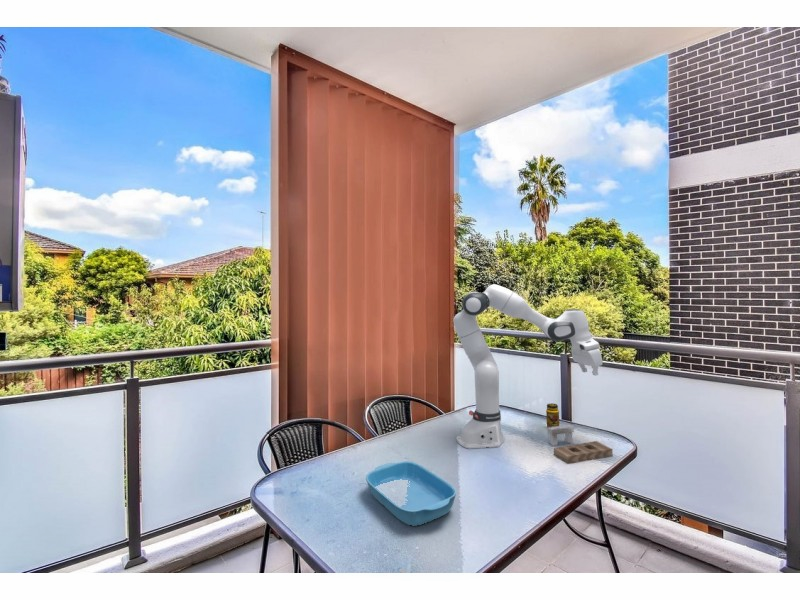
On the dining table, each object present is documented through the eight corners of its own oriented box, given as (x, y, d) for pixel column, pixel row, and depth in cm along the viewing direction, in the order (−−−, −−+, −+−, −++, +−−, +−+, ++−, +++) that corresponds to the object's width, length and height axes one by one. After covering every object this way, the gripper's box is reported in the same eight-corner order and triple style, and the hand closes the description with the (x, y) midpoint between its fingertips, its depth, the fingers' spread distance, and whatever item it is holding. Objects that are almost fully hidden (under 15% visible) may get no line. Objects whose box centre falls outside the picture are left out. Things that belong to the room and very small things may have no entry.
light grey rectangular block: (551, 446, 173) (551, 429, 172) (547, 443, 176) (547, 427, 175) (574, 442, 176) (574, 426, 175) (570, 440, 178) (569, 424, 178)
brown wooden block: (567, 463, 155) (567, 456, 155) (553, 454, 164) (553, 448, 164) (612, 456, 160) (612, 448, 160) (596, 447, 169) (596, 441, 169)
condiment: (552, 431, 191) (552, 407, 191) (540, 426, 199) (539, 403, 198) (563, 428, 194) (563, 405, 194) (551, 423, 202) (550, 401, 201)
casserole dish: (357, 489, 141) (356, 470, 141) (407, 472, 153) (406, 455, 153) (411, 543, 110) (410, 518, 110) (469, 516, 122) (469, 494, 122)
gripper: (565, 343, 182) (572, 371, 181) (586, 347, 161) (595, 378, 161) (577, 340, 182) (585, 368, 181) (601, 343, 162) (609, 375, 161)
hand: (590, 373), depth 171 cm, fingers open, 8 cm apart
